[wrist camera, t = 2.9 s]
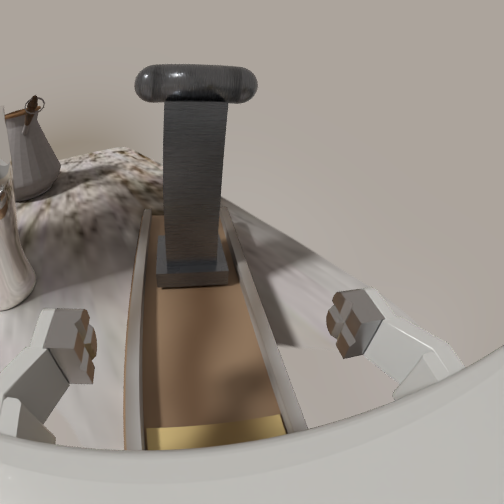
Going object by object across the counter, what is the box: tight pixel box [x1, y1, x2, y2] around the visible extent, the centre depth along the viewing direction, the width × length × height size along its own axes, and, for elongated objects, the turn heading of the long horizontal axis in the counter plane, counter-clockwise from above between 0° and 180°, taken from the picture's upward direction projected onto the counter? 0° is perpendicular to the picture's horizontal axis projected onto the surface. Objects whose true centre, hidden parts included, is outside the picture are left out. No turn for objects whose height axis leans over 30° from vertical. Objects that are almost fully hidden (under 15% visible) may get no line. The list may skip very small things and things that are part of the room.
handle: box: [134, 64, 258, 288], centre depth 22 cm, size 7×12×14 cm, turn 13°
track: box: [123, 207, 308, 450], centre depth 21 cm, size 9×24×2 cm, turn 13°
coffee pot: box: [5, 95, 61, 201], centre depth 29 cm, size 21×12×15 cm, turn 49°
